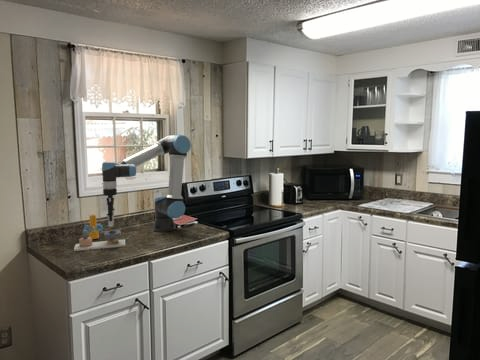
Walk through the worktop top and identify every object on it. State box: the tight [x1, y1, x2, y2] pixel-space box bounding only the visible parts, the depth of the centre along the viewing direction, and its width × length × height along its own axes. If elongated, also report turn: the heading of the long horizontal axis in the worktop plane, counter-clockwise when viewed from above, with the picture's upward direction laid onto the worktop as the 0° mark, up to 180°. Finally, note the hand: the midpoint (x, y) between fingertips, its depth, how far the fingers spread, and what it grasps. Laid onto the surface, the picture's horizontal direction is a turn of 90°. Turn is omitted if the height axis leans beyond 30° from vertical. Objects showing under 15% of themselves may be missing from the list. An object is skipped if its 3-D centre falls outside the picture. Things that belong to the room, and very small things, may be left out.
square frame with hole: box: [103, 229, 122, 240], centre depth 226 cm, size 9×9×2 cm
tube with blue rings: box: [83, 214, 104, 240], centre depth 241 cm, size 12×10×15 cm
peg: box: [78, 229, 93, 247], centre depth 221 cm, size 7×7×9 cm
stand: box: [106, 229, 120, 244], centre depth 226 cm, size 6×6×8 cm
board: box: [73, 238, 126, 252], centre depth 224 cm, size 28×11×1 cm, turn 107°
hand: (111, 223), depth 225 cm, fingers open, 13 cm apart
